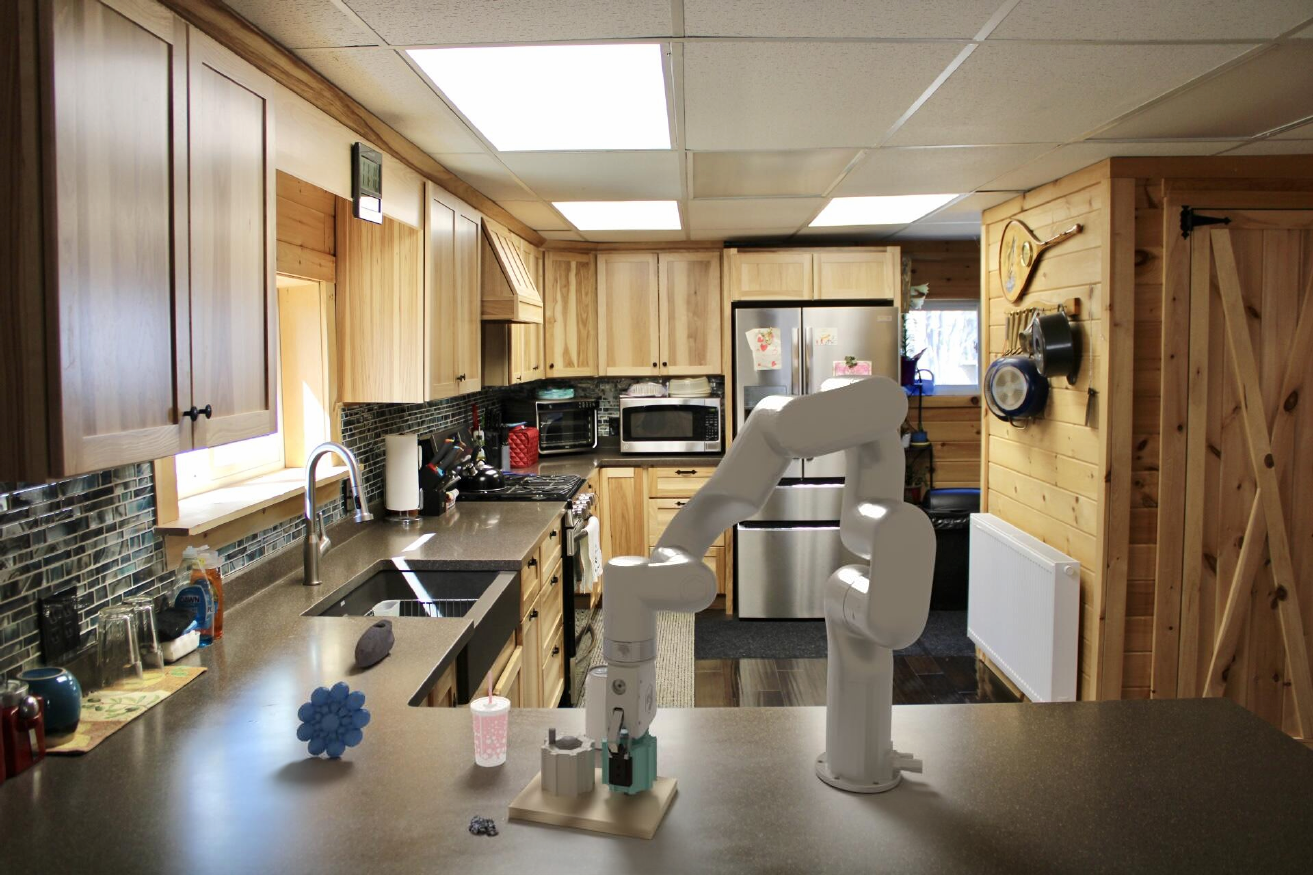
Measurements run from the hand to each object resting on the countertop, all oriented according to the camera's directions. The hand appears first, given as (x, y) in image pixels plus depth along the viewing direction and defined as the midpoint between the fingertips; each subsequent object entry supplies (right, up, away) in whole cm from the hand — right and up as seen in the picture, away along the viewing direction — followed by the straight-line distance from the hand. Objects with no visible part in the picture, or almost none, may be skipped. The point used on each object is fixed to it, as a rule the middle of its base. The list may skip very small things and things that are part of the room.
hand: (629, 770), depth 118 cm
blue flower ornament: (-46, -4, +15) cm, 49 cm away
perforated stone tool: (-55, 0, +59) cm, 81 cm away
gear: (-9, -3, +3) cm, 10 cm away
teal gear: (0, -2, 0) cm, 2 cm away
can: (-5, -3, +20) cm, 21 cm away
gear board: (-5, -5, +1) cm, 7 cm away
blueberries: (-19, -6, -6) cm, 20 cm away
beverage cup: (-22, -4, +13) cm, 26 cm away
